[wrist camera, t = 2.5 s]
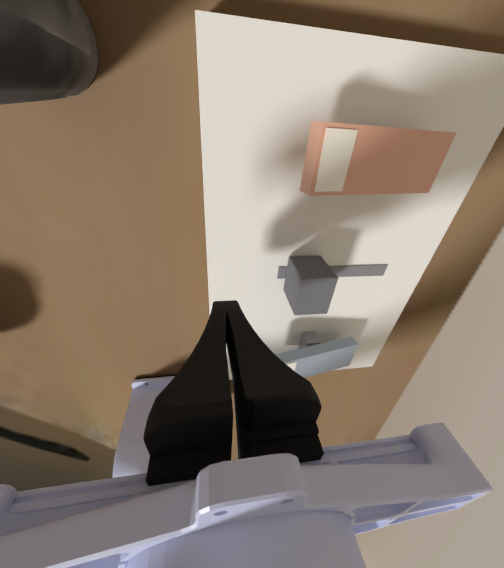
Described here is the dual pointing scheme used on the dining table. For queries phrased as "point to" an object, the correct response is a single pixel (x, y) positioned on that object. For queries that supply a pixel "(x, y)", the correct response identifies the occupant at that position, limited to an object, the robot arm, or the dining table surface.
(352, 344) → the plate
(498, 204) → the dining table surface
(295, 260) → the block
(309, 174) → the pink plate with label
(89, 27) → the beverage cup
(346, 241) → the switch panel
